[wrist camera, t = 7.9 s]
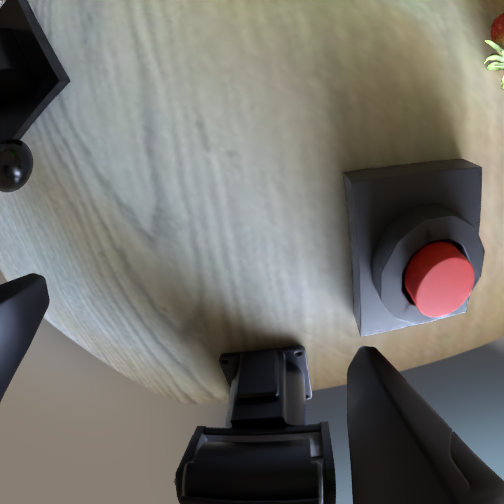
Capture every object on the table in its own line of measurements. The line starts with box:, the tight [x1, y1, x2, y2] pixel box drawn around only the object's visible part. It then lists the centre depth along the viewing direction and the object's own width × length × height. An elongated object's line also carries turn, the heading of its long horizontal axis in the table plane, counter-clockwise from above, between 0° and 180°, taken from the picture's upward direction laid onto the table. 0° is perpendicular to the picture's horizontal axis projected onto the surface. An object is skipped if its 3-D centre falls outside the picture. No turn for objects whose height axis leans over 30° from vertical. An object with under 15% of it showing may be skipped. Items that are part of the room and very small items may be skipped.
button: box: [405, 241, 475, 317], centre depth 14 cm, size 4×4×2 cm
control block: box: [342, 159, 485, 336], centre depth 16 cm, size 10×8×4 cm
